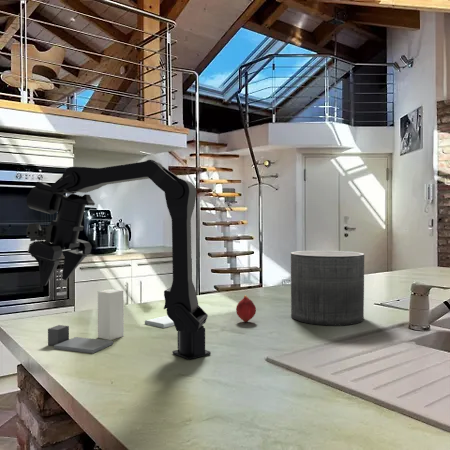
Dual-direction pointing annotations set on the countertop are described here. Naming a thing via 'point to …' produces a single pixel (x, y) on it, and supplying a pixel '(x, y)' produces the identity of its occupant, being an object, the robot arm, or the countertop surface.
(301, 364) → the countertop surface
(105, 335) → the brick
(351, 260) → the planter
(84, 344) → the charging dock
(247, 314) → the onion
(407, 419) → the countertop surface
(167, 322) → the external hard drive
